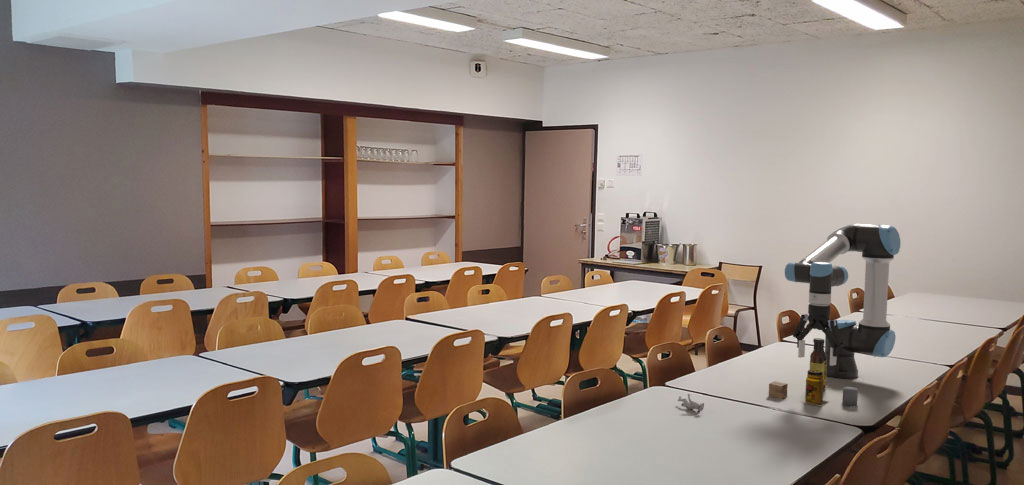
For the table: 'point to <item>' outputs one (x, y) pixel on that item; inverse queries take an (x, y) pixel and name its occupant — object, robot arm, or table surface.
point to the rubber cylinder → (850, 396)
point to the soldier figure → (691, 403)
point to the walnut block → (778, 389)
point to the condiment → (814, 388)
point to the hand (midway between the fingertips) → (816, 361)
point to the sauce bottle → (819, 358)
